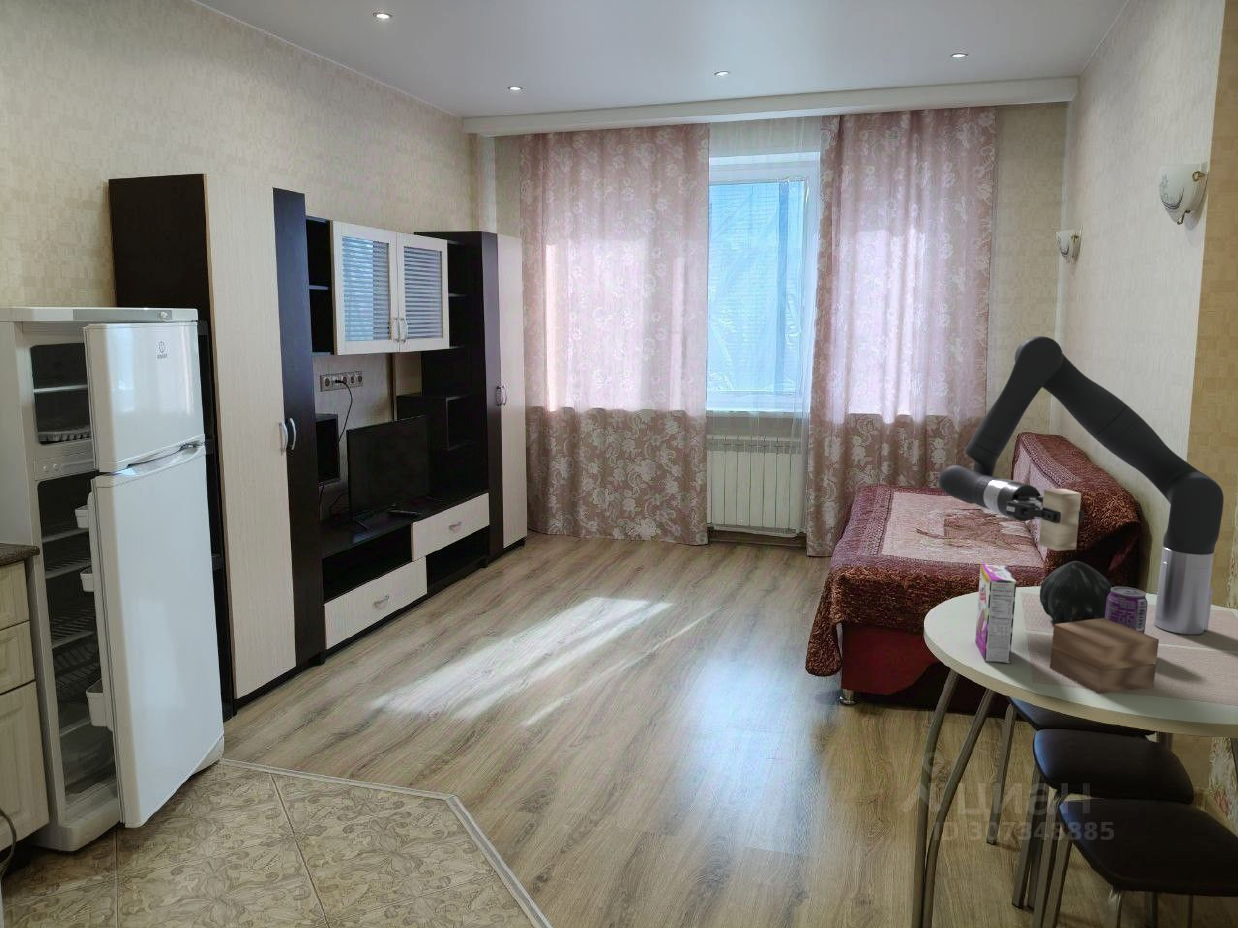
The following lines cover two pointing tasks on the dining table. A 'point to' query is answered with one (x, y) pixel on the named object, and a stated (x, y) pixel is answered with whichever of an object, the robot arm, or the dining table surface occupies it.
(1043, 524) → the birch block
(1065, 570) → the squash
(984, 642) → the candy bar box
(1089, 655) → the upper slab
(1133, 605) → the beverage can
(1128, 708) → the dining table surface
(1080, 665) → the lower slab
